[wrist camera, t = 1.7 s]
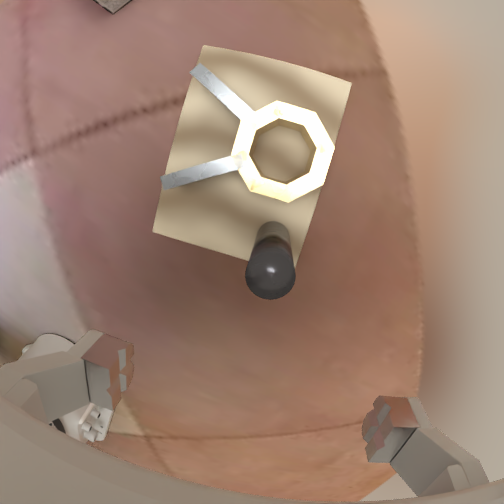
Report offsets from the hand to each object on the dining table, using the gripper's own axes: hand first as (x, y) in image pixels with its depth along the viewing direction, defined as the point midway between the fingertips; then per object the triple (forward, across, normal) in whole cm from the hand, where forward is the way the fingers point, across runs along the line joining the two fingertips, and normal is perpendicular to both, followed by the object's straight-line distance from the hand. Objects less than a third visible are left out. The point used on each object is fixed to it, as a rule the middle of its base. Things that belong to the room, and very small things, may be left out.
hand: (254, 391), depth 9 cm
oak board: (+24, +4, -7) cm, 25 cm away
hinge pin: (+22, 0, 0) cm, 22 cm away
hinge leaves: (+22, +4, -8) cm, 24 cm away
